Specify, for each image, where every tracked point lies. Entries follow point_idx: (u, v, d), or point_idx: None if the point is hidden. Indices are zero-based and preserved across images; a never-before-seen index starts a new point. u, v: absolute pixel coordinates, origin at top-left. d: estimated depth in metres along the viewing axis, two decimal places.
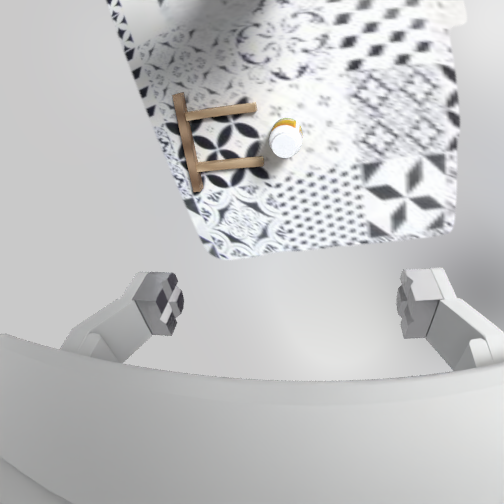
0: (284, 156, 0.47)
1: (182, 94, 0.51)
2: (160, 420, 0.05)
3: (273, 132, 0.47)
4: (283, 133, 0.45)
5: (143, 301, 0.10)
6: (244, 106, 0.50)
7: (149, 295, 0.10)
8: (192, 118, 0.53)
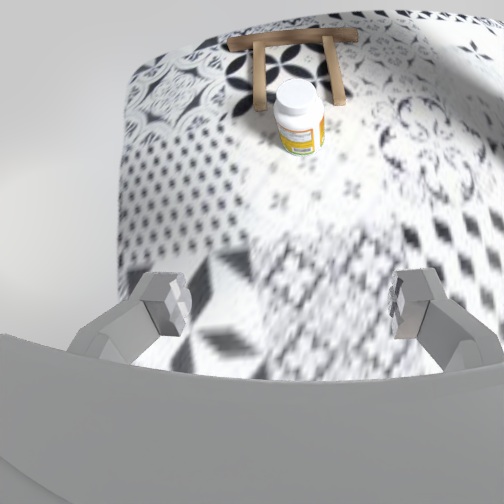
0: (279, 92, 0.28)
1: (355, 38, 0.37)
2: (160, 420, 0.05)
3: None
4: (316, 94, 0.27)
5: (152, 301, 0.10)
6: (341, 88, 0.35)
7: (158, 295, 0.10)
8: (325, 41, 0.37)
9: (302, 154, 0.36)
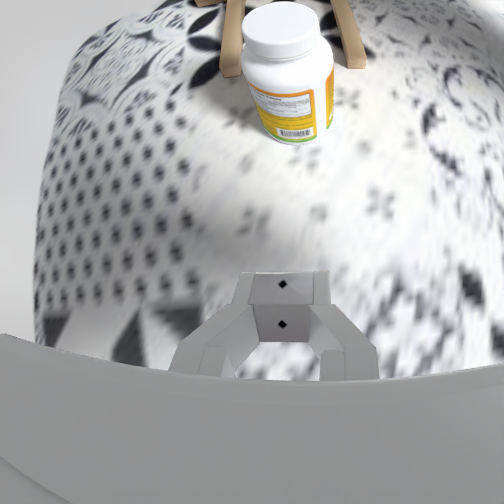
0: (247, 22, 0.13)
1: None
2: (160, 420, 0.05)
3: None
4: None
5: (264, 305, 0.09)
6: (358, 42, 0.20)
7: (269, 298, 0.09)
8: None
9: (295, 141, 0.20)
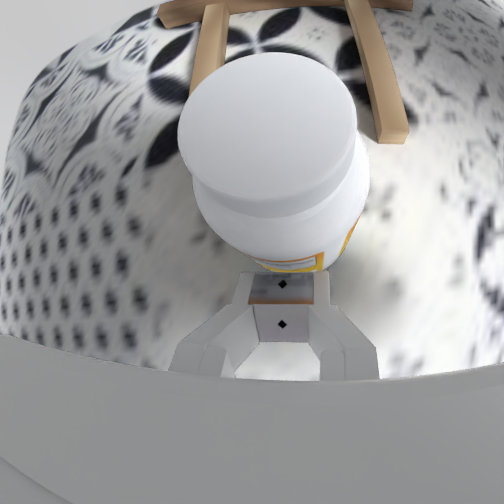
0: (190, 113, 0.07)
1: (409, 4, 0.15)
2: (160, 420, 0.05)
3: None
4: None
5: (264, 305, 0.09)
6: (397, 101, 0.14)
7: (269, 298, 0.09)
8: (351, 0, 0.15)
9: None
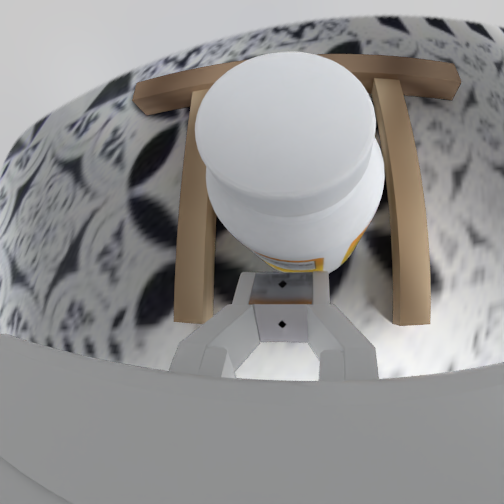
0: (212, 100, 0.06)
1: (451, 92, 0.14)
2: (160, 420, 0.05)
3: None
4: None
5: (264, 305, 0.09)
6: (424, 283, 0.12)
7: (270, 298, 0.09)
8: (383, 95, 0.14)
9: None
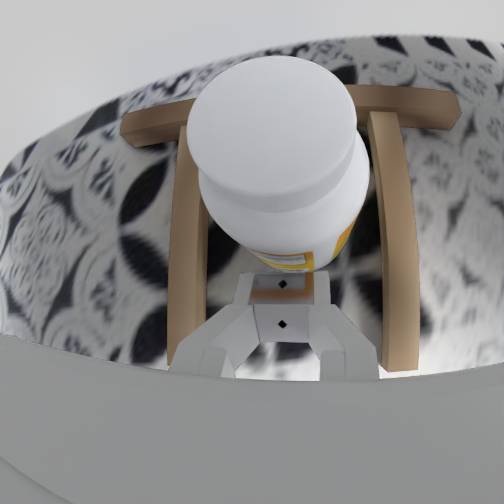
0: (202, 105, 0.07)
1: (450, 123, 0.14)
2: (160, 420, 0.05)
3: None
4: (354, 134, 0.06)
5: (263, 305, 0.09)
6: (413, 331, 0.12)
7: (269, 298, 0.09)
8: (379, 131, 0.14)
9: (281, 270, 0.15)
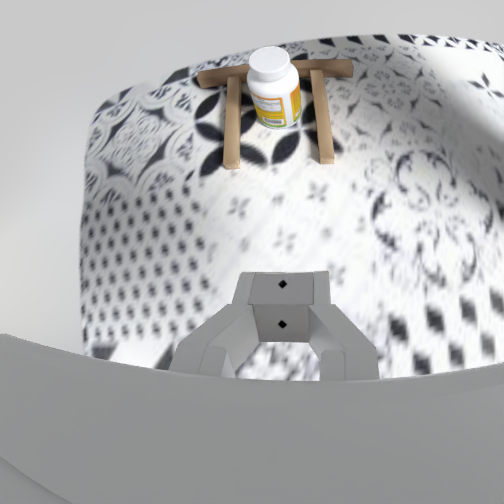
0: (252, 56, 0.26)
1: (350, 73, 0.33)
2: (160, 420, 0.05)
3: (291, 64, 0.28)
4: (289, 62, 0.26)
5: (263, 305, 0.09)
6: (329, 142, 0.32)
7: (269, 298, 0.09)
8: (313, 77, 0.33)
9: (273, 126, 0.34)
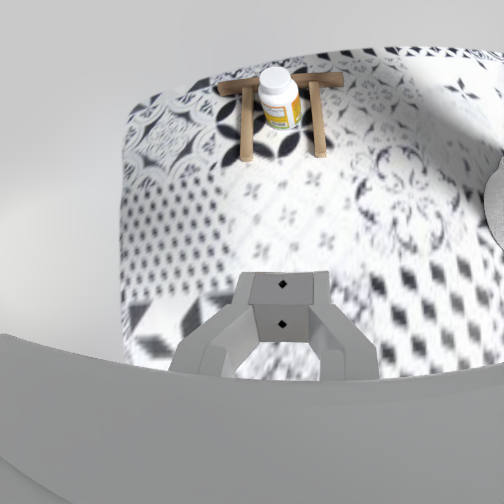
0: (262, 75, 0.35)
1: (341, 83, 0.42)
2: (160, 420, 0.05)
3: (292, 79, 0.37)
4: (290, 79, 0.35)
5: (264, 305, 0.09)
6: (322, 140, 0.41)
7: (269, 298, 0.09)
8: (311, 87, 0.42)
9: (279, 127, 0.43)
